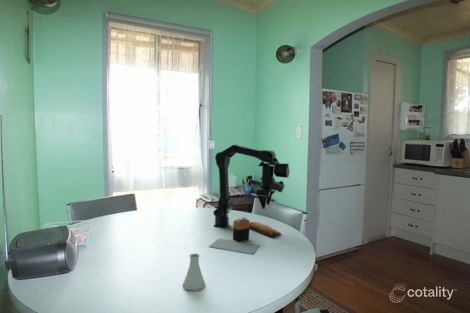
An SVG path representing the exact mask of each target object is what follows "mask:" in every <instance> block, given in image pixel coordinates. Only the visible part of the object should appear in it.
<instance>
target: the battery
mask: <svg viewBox="0 0 470 313" xmlns="http://www.w3.org/2000/svg"><path fill="white" fill-rule="evenodd" d="M250 221H251V220H249V219H247V217H241V218H237V219H235V220H233V224H232V225H233V226H232V229H233V230H232V231H233V232H232V240H233V241H237V242H246V241H249V239H250V229H249V225H250Z"/></svg>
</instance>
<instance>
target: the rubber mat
mask: <svg viewBox="0 0 470 313" xmlns="http://www.w3.org/2000/svg"><path fill="white" fill-rule="evenodd" d="M260 247H261V244H258V243H251V242H246V241H241V242H237V241H235V240H233V239H227V238H221V237H220V238H219V237H218V238H217V239H216V240H215V241H214V242H212V243H211V244H210V245H209V246H208V248H211V249H212V248H213V249H218V250H224V251H229V252H230V251H231V252H236V253H242V254H248V255H251V256H252V255H254V254H255V253H256V251H257V250H258V249H259V248H260Z"/></svg>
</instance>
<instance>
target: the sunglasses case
mask: <svg viewBox="0 0 470 313" xmlns="http://www.w3.org/2000/svg"><path fill="white" fill-rule="evenodd" d="M249 230H254V231H257V232H259V233H262V234H264V235H266V236H269V237H271V238H272V239H273V238H277V237H280V236H281V237H282V236H283V234H282V233H281V232H280V231H278V230H276V229H275V228H272V226H269V225H268V224H267V225H266V224H263V223H261V222H257V221H251V222H250V225H249Z"/></svg>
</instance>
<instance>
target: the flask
mask: <svg viewBox="0 0 470 313" xmlns="http://www.w3.org/2000/svg"><path fill="white" fill-rule="evenodd" d="M188 256H189V258H190V260H189V266H188V269H187V272H186V276H185V278H184V281H183V282H182V287H183V289H184V290H185V291H192V292H195V291H200V290H203V289H204V288H205V286H206V282H205V279H204V277H203V274H202V270H201V267H200V260H199V258H200V257H201V256H200V253H191V254H190V255H188Z"/></svg>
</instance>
